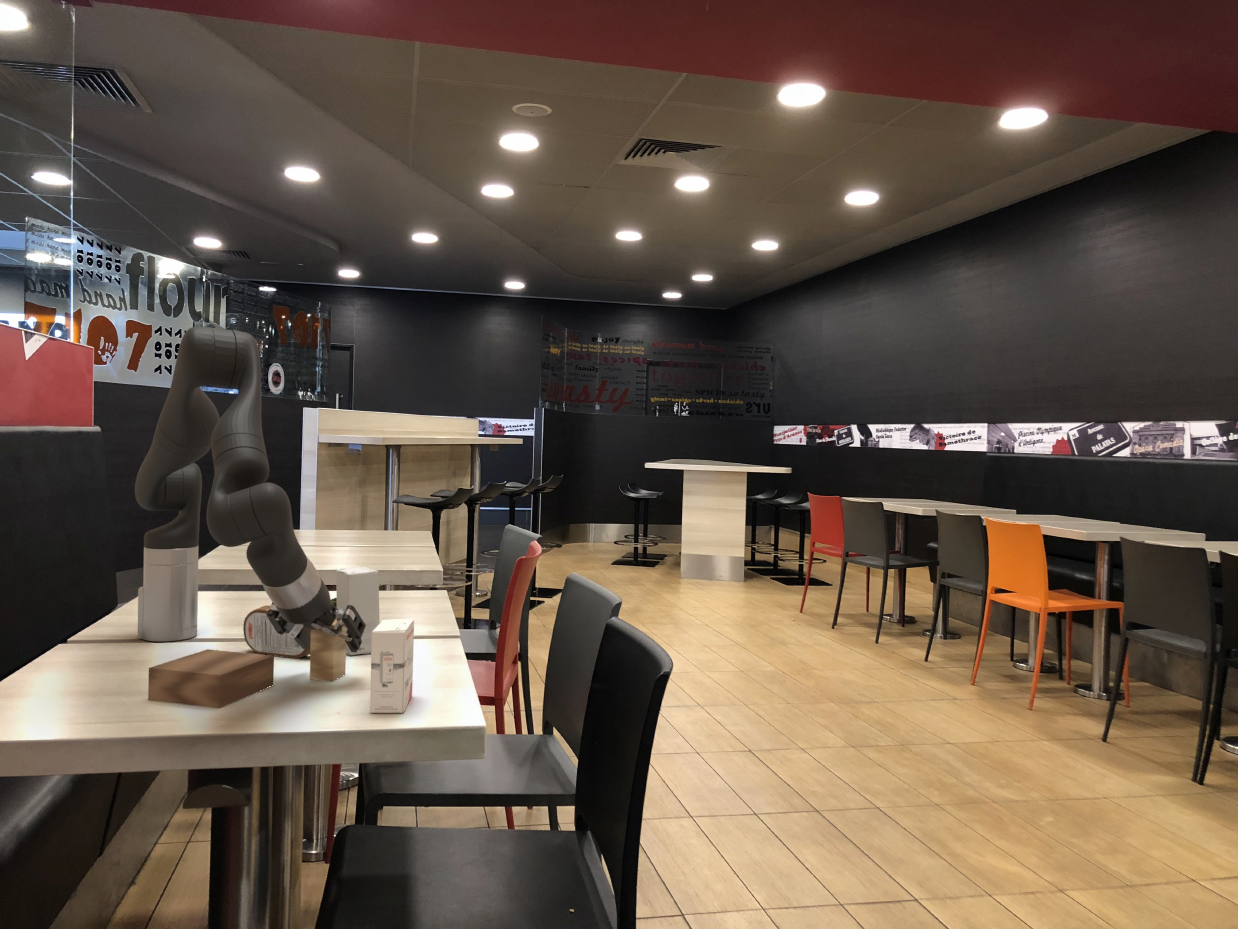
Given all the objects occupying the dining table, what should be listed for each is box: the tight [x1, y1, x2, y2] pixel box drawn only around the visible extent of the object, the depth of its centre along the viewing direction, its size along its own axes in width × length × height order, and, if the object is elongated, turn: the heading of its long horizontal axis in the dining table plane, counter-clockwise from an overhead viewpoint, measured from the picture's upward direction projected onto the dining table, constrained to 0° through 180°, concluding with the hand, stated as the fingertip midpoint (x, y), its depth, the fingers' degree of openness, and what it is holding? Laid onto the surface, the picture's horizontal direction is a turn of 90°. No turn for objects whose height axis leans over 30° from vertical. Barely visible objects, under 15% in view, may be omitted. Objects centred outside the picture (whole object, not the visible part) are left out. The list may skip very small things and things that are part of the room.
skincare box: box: [335, 566, 380, 656], centre depth 155 cm, size 8×6×15 cm
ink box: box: [369, 618, 415, 714], centre depth 124 cm, size 9×5×12 cm, turn 5°
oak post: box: [309, 619, 347, 682], centre depth 137 cm, size 4×4×9 cm
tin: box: [242, 605, 311, 659], centre depth 150 cm, size 15×3×8 cm, turn 71°
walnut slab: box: [147, 648, 275, 709], centre depth 127 cm, size 12×12×5 cm
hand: (331, 646), depth 138 cm, fingers open, 8 cm apart
